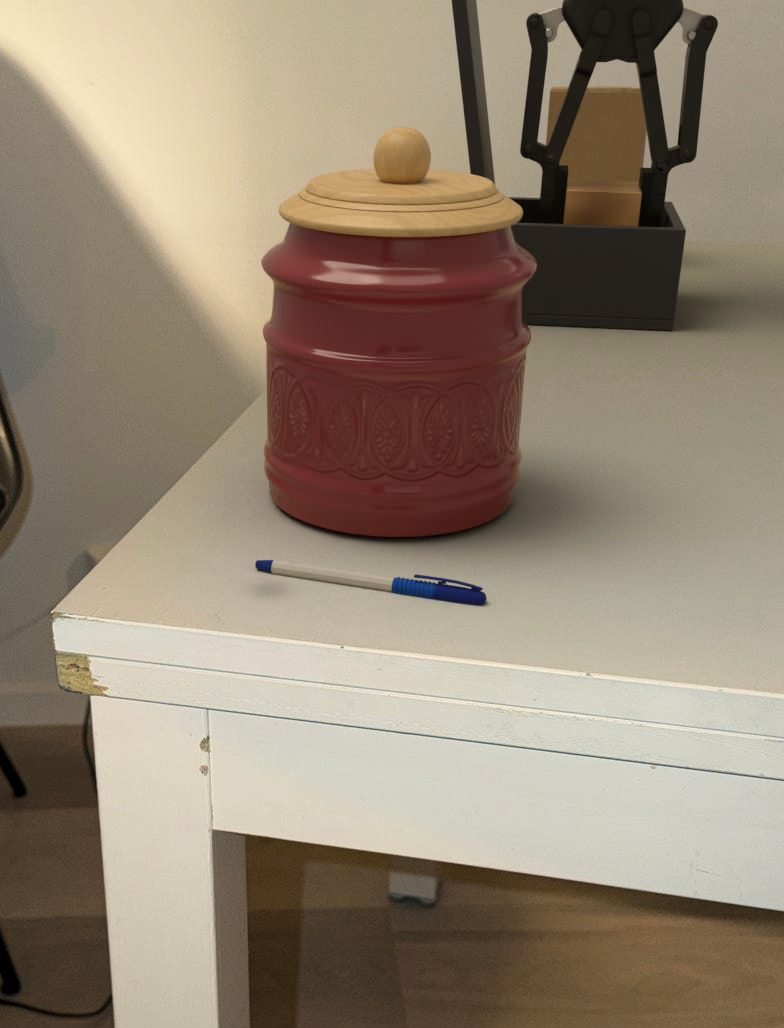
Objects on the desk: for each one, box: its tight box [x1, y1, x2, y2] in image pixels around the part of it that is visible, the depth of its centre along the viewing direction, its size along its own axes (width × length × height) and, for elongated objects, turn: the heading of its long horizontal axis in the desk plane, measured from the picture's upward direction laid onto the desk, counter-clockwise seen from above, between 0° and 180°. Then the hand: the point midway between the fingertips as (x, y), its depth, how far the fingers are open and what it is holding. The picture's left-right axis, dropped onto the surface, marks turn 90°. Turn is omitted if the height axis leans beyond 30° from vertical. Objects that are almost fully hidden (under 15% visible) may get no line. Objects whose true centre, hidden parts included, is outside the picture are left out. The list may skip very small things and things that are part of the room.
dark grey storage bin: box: [507, 196, 687, 332], centre depth 102 cm, size 15×13×7 cm
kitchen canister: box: [260, 126, 537, 538], centre depth 63 cm, size 13×13×18 cm
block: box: [563, 180, 642, 226], centre depth 100 cm, size 6×6×6 cm
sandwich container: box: [545, 85, 647, 184], centre depth 121 cm, size 9×15×15 cm, turn 170°
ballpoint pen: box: [254, 559, 487, 606], centre depth 57 cm, size 10×1×1 cm, turn 72°
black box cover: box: [451, 0, 496, 186], centre depth 98 cm, size 15×13×1 cm
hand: (595, 256), depth 102 cm, fingers closed on block, 5 cm apart
